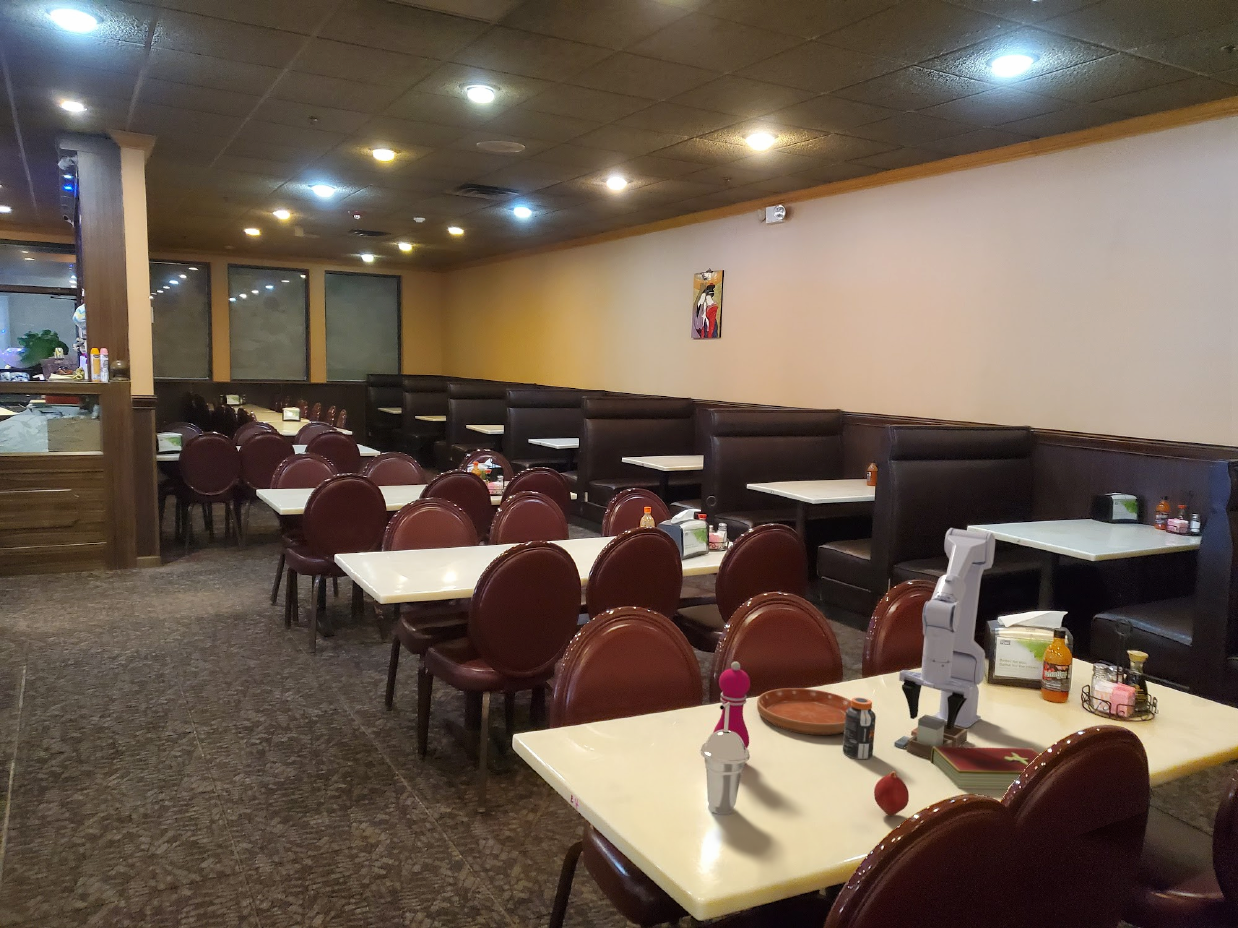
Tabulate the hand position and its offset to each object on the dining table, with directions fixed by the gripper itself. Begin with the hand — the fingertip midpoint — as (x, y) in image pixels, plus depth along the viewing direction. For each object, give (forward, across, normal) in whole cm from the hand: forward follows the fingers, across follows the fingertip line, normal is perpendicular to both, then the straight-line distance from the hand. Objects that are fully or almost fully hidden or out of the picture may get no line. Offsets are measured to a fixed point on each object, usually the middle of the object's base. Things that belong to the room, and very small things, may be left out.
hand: (931, 722), depth 186 cm
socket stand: (+6, -2, +4) cm, 8 cm away
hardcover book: (+7, +14, -2) cm, 16 cm away
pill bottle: (+6, -10, -13) cm, 17 cm away
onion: (+6, +6, -34) cm, 35 cm away
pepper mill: (+6, -26, -36) cm, 45 cm away
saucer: (+7, -27, -3) cm, 28 cm away
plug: (+6, 0, 0) cm, 6 cm away
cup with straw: (+6, -16, -54) cm, 56 cm away
